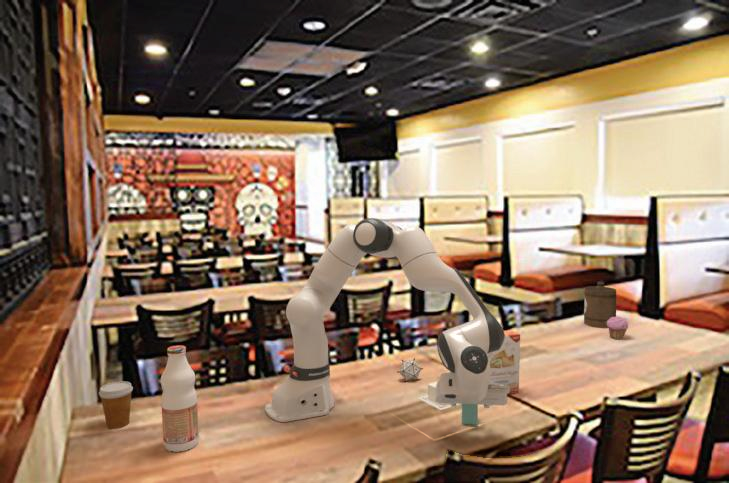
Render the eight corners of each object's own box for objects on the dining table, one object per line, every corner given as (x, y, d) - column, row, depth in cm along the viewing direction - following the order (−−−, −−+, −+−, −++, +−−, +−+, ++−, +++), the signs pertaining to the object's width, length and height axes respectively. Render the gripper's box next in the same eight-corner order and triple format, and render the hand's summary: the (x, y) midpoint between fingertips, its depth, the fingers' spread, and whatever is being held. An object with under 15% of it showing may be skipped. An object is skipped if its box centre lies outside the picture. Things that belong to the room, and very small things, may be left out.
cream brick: (441, 405, 175) (441, 390, 175) (427, 398, 181) (427, 384, 180) (458, 400, 179) (458, 386, 178) (444, 394, 185) (444, 379, 184)
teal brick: (477, 427, 161) (477, 401, 160) (462, 426, 162) (462, 400, 161) (476, 420, 165) (476, 395, 165) (461, 420, 166) (461, 394, 165)
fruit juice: (174, 456, 146) (168, 355, 143) (157, 445, 153) (152, 348, 150) (205, 444, 153) (200, 347, 150) (188, 434, 160) (183, 340, 157)
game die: (414, 392, 199) (421, 376, 192) (392, 382, 200) (398, 366, 194) (420, 373, 206) (427, 357, 199) (399, 364, 207) (405, 348, 200)
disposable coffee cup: (125, 415, 174) (123, 378, 173) (140, 422, 168) (138, 385, 167) (95, 425, 167) (92, 387, 165) (110, 434, 160) (107, 394, 159)
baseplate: (440, 412, 172) (440, 409, 172) (417, 400, 182) (417, 397, 182) (468, 403, 178) (468, 400, 178) (444, 392, 188) (444, 389, 188)
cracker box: (483, 397, 183) (483, 337, 181) (474, 391, 189) (475, 332, 187) (520, 393, 187) (520, 333, 184) (510, 386, 192) (511, 329, 190)
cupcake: (602, 336, 253) (602, 315, 252) (617, 334, 256) (618, 313, 255) (616, 341, 245) (617, 319, 244) (632, 339, 247) (632, 318, 246)
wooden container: (592, 319, 286) (593, 277, 284) (621, 324, 275) (622, 281, 272) (578, 324, 276) (579, 281, 274) (607, 329, 265) (608, 285, 263)
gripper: (509, 375, 150) (505, 396, 161) (435, 373, 153) (435, 393, 164) (511, 397, 146) (507, 417, 157) (434, 394, 149) (435, 414, 160)
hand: (469, 405), depth 160 cm, fingers open, 8 cm apart
